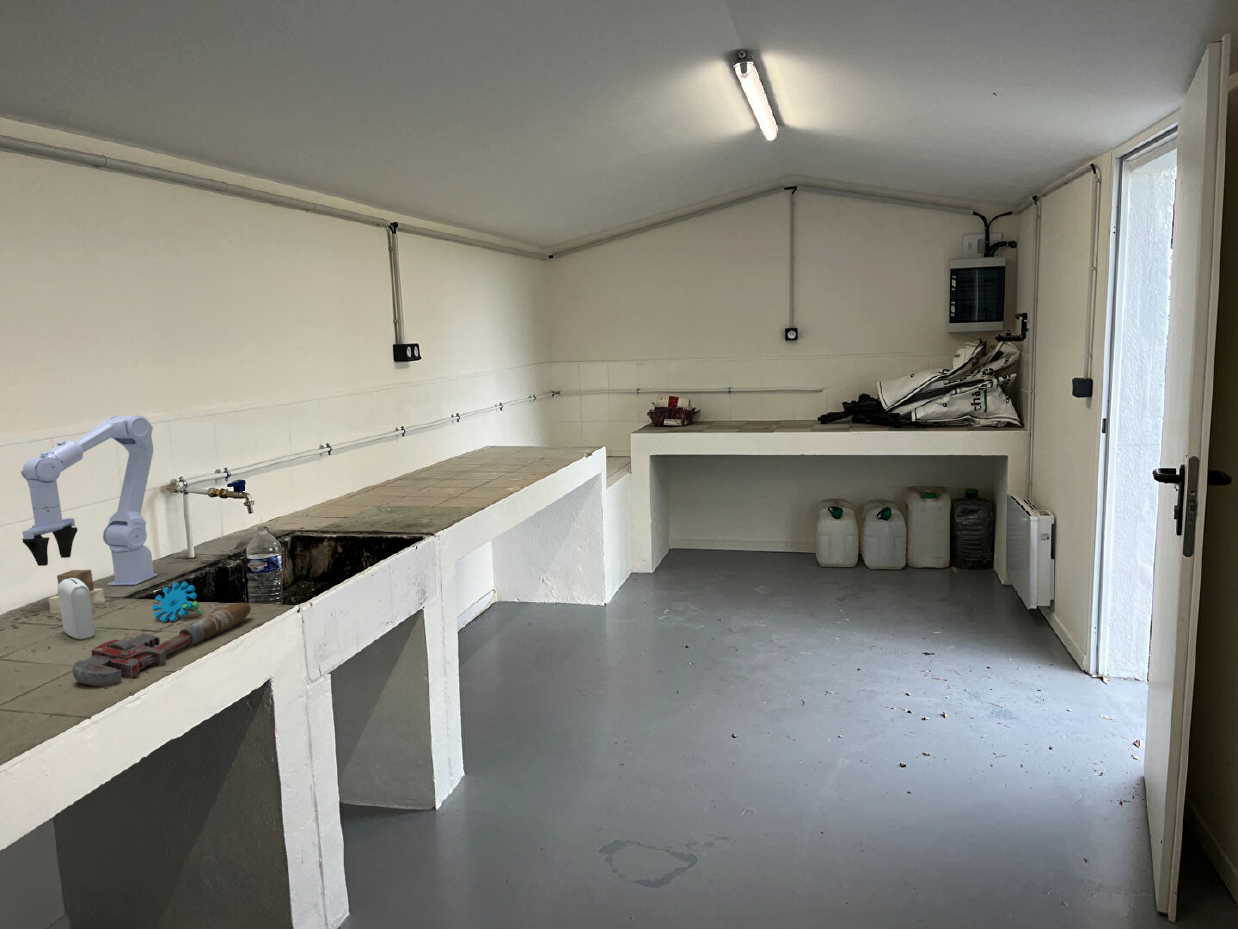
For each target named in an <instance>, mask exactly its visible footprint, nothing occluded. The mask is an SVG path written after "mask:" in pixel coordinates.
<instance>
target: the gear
mask: <svg viewBox="0 0 1238 929" xmlns="http://www.w3.org/2000/svg"><path fill="white" fill-rule="evenodd" d="M171 586H172V588H171V589H170V588H169V586H166V587H164V588H162V592H163V593H164V597H163V596H162V595H161V594H158V595H157V596H155V598H154V600H155V601H157V602H158V603H159V602H160V603H161V605H158V604H157V603H154V604H153V605H152V608H151V609H152V611H154V614H153V616H154V618H156V619H157V620H158V619H159V620H160V621H162V622H163V623H166V622H167V621H168V619H169V621H170V622H176V621H177V620H178V614H179V616H180V617H181V618H184V617H185V616H187V615H188V613H189V612H191V613H197V615H199V614H202V615H203V612H202V611H201V610H199V608H200V606H201V604H200V603H199V602H197V601H196V599H197V596H198V594H197V593H196V592H195V591H196V588H195V586H194V585H193V584H191V585H190V584H189V583H188V582H186V581H182V582H181V585H180V583H179V582H172V585H171ZM188 592H191V593H188ZM189 598H190V599H192V600H194V601H188V599H189ZM159 610H161V611H159Z"/></svg>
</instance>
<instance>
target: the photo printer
mask: <svg viewBox="0 0 1238 929" xmlns="http://www.w3.org/2000/svg"><path fill="white" fill-rule="evenodd" d="M57 595H58V597H59V603H60V610H61V613H60V615H61V616H60V617H61V622H62V628H63V632H64V633H65V634H66V635H68V636H70V637H72V638H74V639H76V640H84V639H85V640H86V639H89V638H91V637H94V635H96V627H95V621H94V614H93V608H92V606H91V600H90V593H89V589H88V587H87V586H86V585H85V584H84V583H83V582H82V581H80V580H79V579H76V578H69V579H65V580H63V581H62V582H61V583H60V584H59V586H58V585H57Z"/></svg>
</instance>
